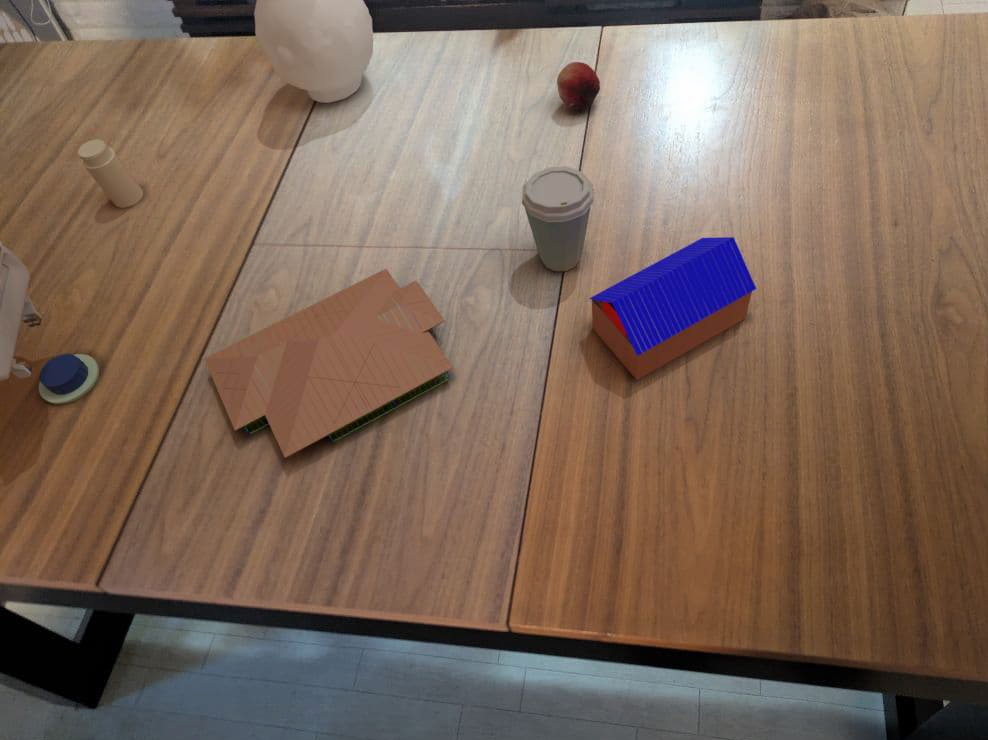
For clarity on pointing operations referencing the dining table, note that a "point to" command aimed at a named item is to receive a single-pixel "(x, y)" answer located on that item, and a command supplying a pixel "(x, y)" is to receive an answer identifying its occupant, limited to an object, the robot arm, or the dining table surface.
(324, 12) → the vase
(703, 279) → the house
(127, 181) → the jar
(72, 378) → the lid
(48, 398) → the coaster
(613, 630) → the dining table surface
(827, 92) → the dining table surface
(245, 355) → the brown flat stepped piece
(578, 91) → the fruit
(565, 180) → the disposable coffee cup
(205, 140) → the dining table surface
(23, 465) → the dining table surface
